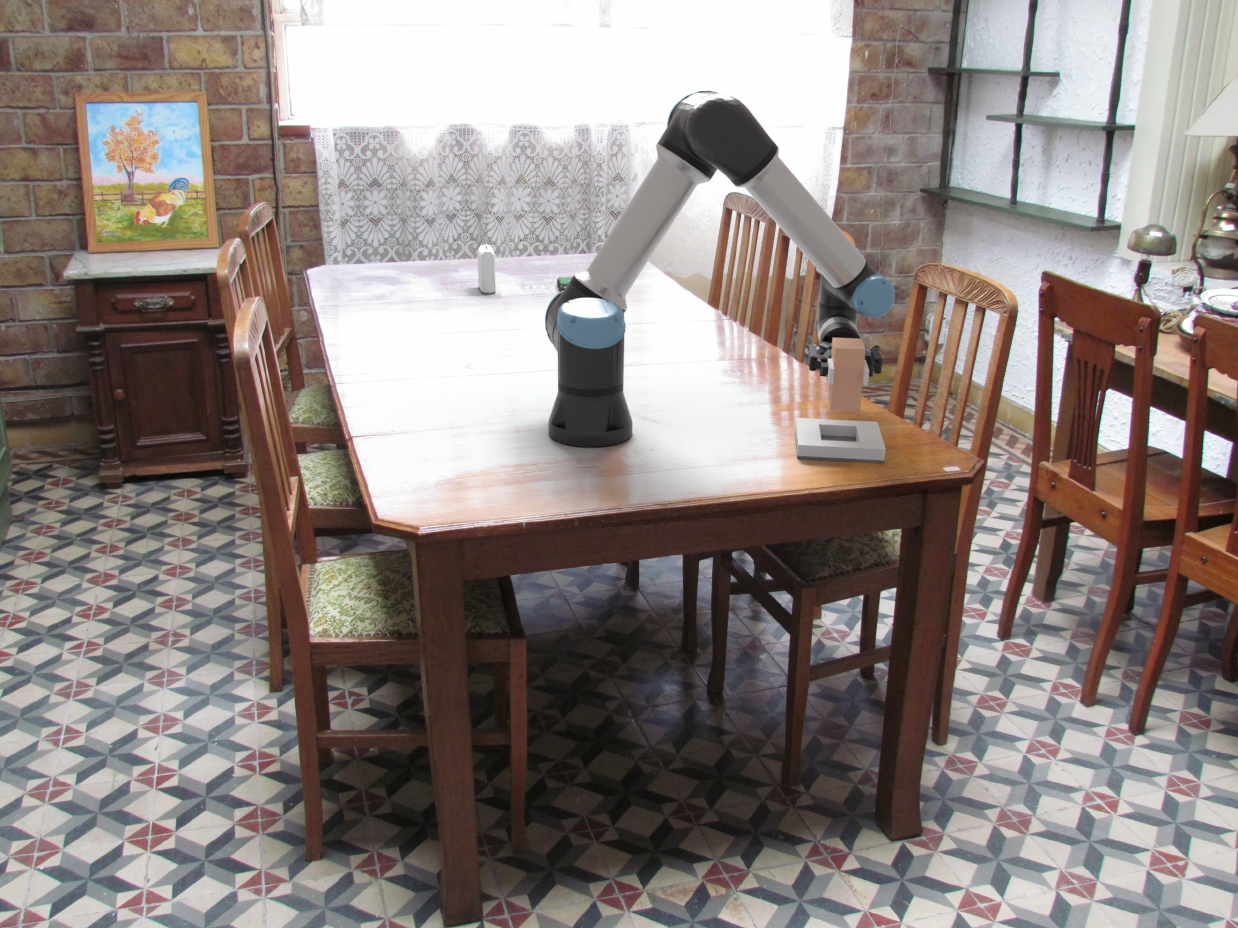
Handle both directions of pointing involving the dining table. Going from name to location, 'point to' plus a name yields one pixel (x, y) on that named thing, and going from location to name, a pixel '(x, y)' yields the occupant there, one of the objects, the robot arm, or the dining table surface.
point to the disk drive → (563, 283)
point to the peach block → (846, 374)
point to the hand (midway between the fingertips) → (848, 377)
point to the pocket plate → (839, 440)
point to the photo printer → (486, 269)
